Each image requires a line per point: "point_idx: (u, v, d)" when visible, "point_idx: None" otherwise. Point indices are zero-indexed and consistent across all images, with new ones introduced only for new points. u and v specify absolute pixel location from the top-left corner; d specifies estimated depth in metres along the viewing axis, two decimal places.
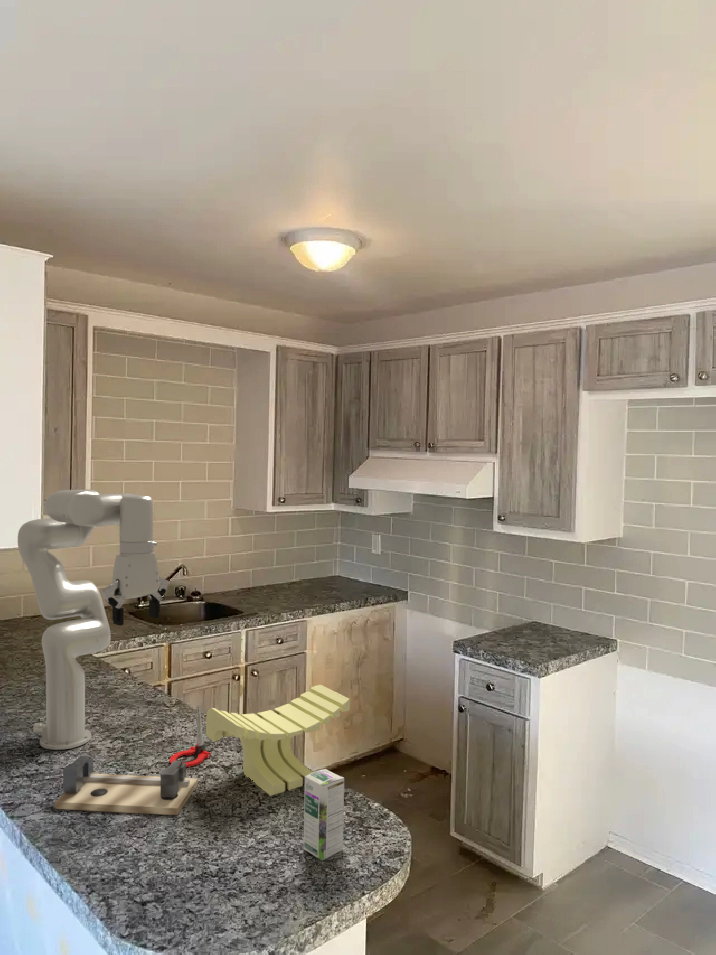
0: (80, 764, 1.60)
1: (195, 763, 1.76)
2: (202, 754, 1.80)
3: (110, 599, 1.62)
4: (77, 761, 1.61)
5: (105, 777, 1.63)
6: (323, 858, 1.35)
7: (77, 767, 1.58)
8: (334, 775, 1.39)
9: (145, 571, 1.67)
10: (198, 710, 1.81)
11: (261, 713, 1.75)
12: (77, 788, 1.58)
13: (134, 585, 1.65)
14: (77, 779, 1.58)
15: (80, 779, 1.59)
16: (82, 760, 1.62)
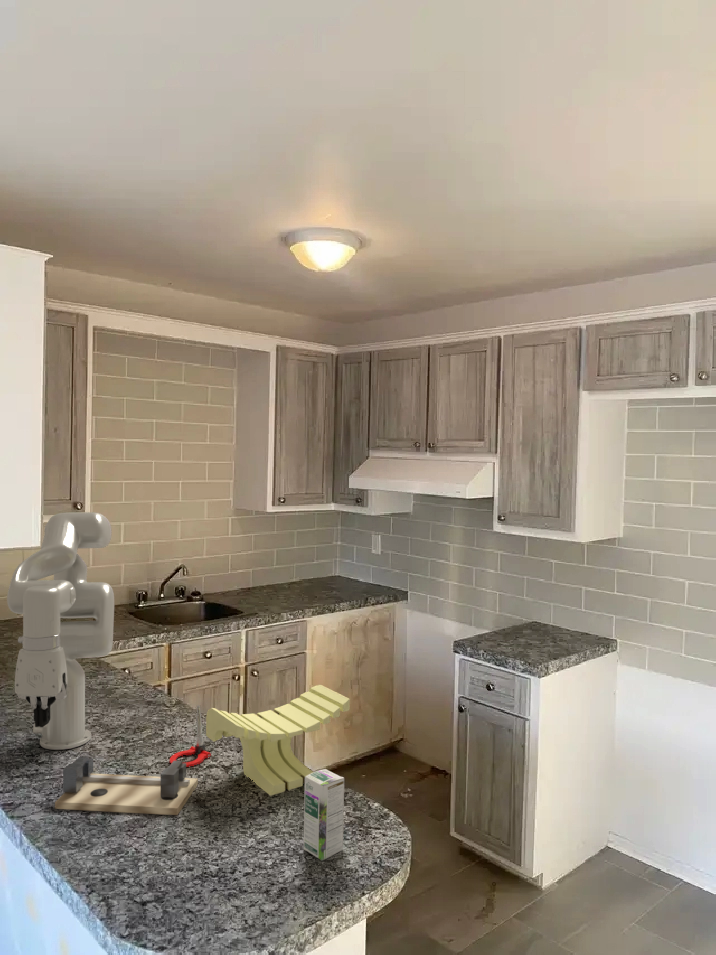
0: (80, 764, 1.60)
1: (195, 763, 1.76)
2: (202, 754, 1.80)
3: None
4: (77, 761, 1.61)
5: (105, 777, 1.63)
6: (323, 858, 1.35)
7: (77, 767, 1.58)
8: (334, 775, 1.39)
9: None
10: (198, 710, 1.81)
11: (261, 713, 1.75)
12: (77, 788, 1.58)
13: None
14: (77, 779, 1.58)
15: (80, 779, 1.59)
16: (82, 760, 1.62)
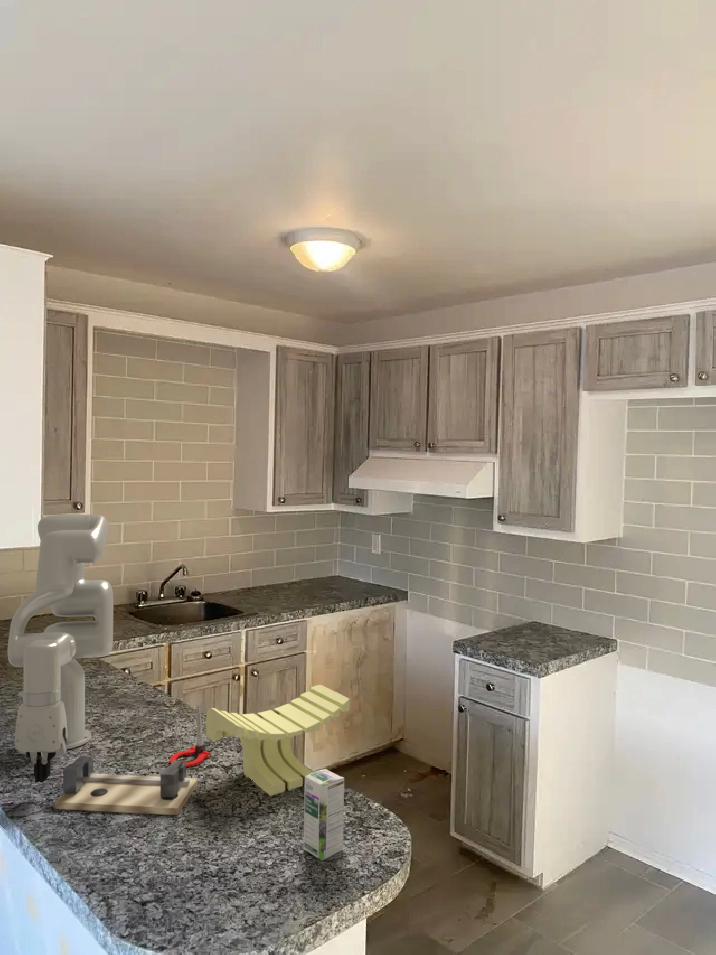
0: (80, 764, 1.60)
1: (195, 763, 1.76)
2: (202, 754, 1.80)
3: None
4: (77, 761, 1.61)
5: (105, 777, 1.63)
6: (323, 858, 1.35)
7: (77, 767, 1.58)
8: (334, 775, 1.39)
9: None
10: (198, 710, 1.81)
11: (261, 713, 1.75)
12: (77, 788, 1.58)
13: None
14: (77, 779, 1.58)
15: (80, 779, 1.59)
16: (82, 760, 1.62)
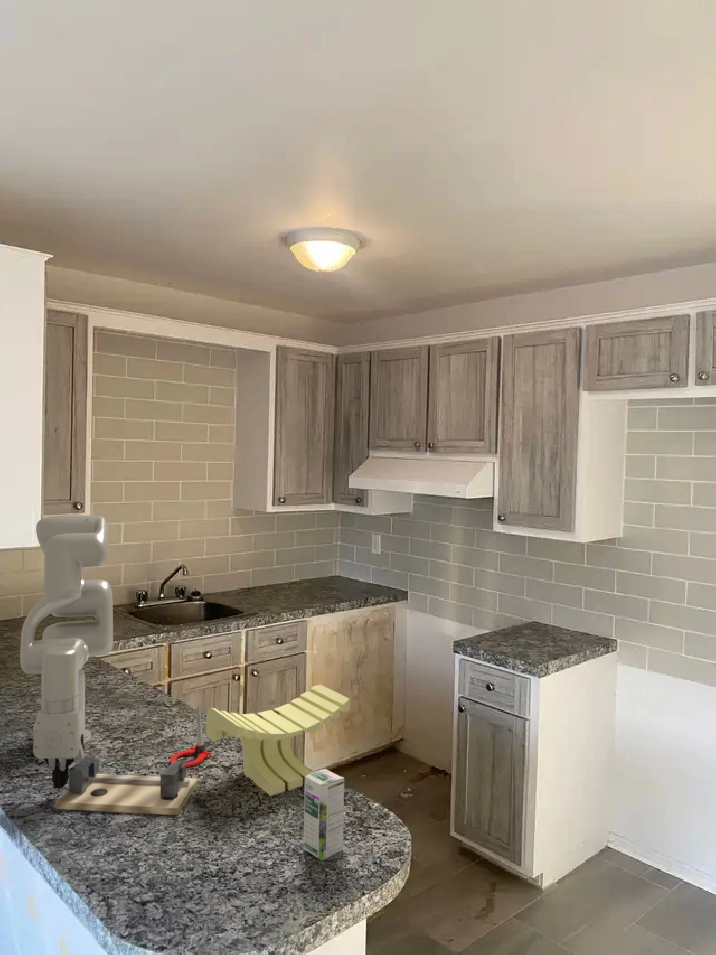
0: (86, 764, 1.60)
1: (195, 763, 1.76)
2: (202, 754, 1.80)
3: None
4: (83, 761, 1.61)
5: (105, 777, 1.63)
6: (323, 858, 1.35)
7: (83, 767, 1.58)
8: (334, 775, 1.39)
9: None
10: (198, 710, 1.81)
11: (261, 713, 1.75)
12: (83, 788, 1.57)
13: None
14: (83, 780, 1.58)
15: (86, 780, 1.59)
16: (88, 760, 1.62)
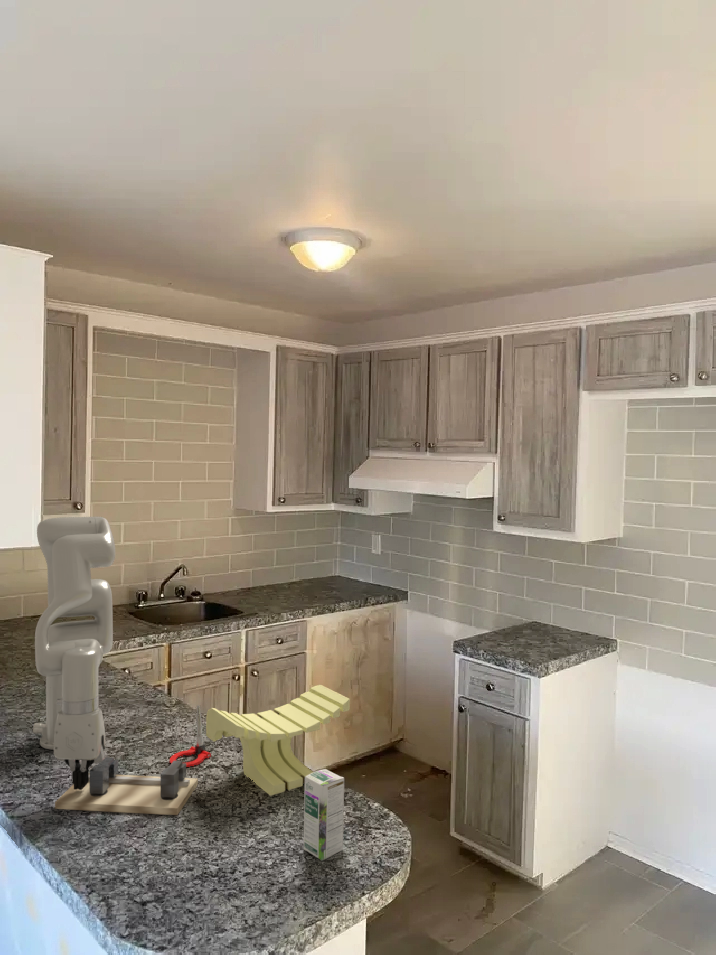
0: (106, 765, 1.59)
1: (195, 763, 1.76)
2: (202, 754, 1.80)
3: None
4: (103, 762, 1.61)
5: None
6: (323, 858, 1.35)
7: (103, 768, 1.58)
8: (334, 775, 1.39)
9: None
10: (198, 710, 1.81)
11: (261, 713, 1.75)
12: (103, 789, 1.57)
13: None
14: (104, 781, 1.57)
15: (107, 781, 1.59)
16: (108, 761, 1.61)
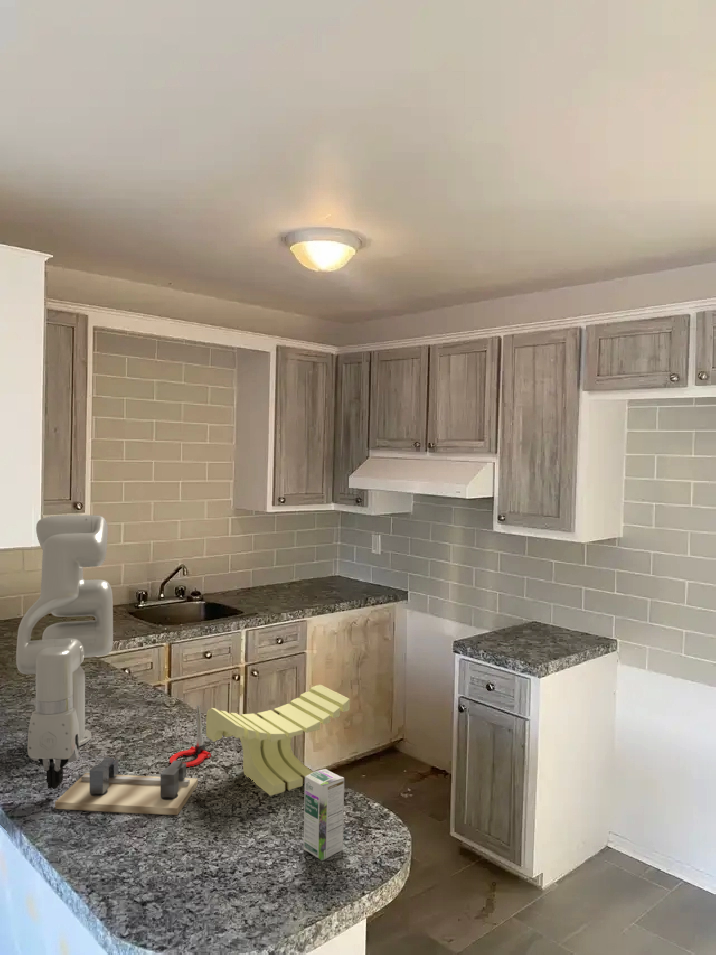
0: (106, 765, 1.59)
1: (195, 763, 1.76)
2: (202, 754, 1.80)
3: None
4: (103, 762, 1.61)
5: None
6: (323, 858, 1.35)
7: (103, 768, 1.58)
8: (334, 775, 1.39)
9: None
10: (198, 710, 1.81)
11: (261, 713, 1.75)
12: (103, 789, 1.57)
13: None
14: (104, 781, 1.57)
15: (107, 781, 1.59)
16: (108, 761, 1.61)
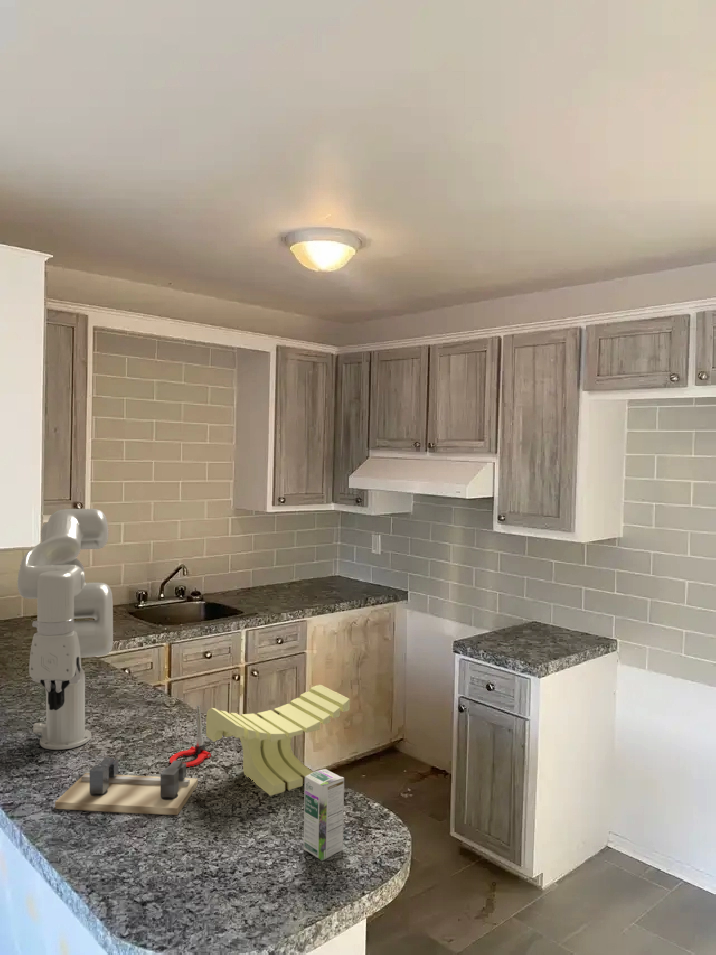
0: (106, 765, 1.59)
1: (195, 763, 1.76)
2: (202, 754, 1.80)
3: None
4: (103, 762, 1.61)
5: None
6: (323, 858, 1.35)
7: (103, 768, 1.58)
8: (334, 775, 1.39)
9: None
10: (198, 710, 1.81)
11: (261, 713, 1.75)
12: (103, 789, 1.57)
13: None
14: (104, 781, 1.57)
15: (107, 781, 1.59)
16: (108, 761, 1.61)
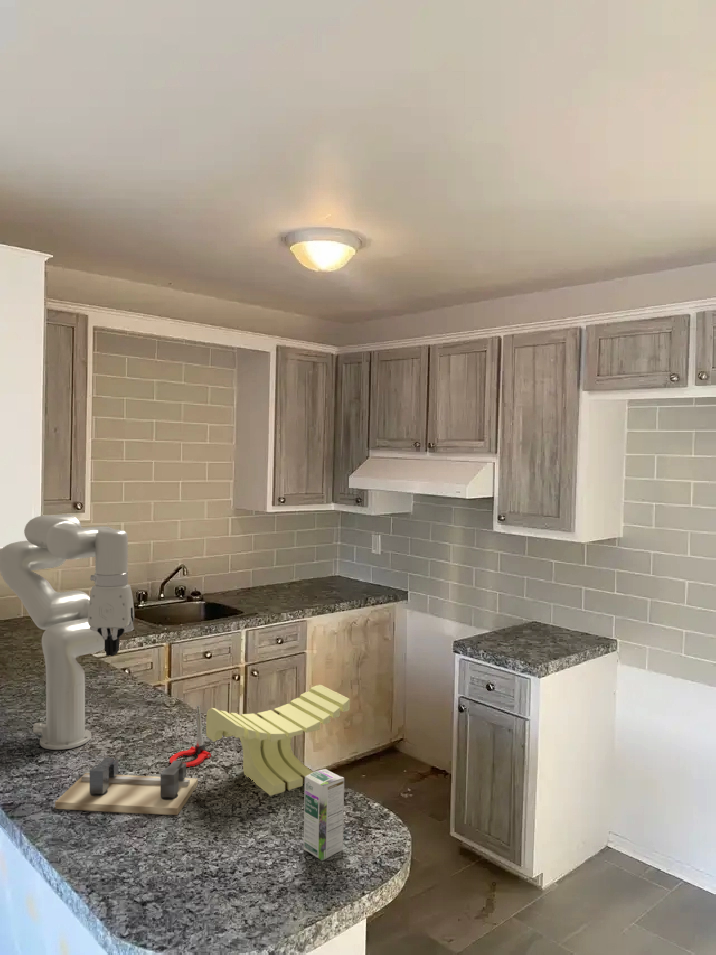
0: (106, 765, 1.59)
1: (195, 763, 1.76)
2: (202, 754, 1.80)
3: None
4: (103, 762, 1.61)
5: None
6: (323, 858, 1.35)
7: (103, 768, 1.58)
8: (334, 775, 1.39)
9: None
10: (198, 710, 1.81)
11: (261, 713, 1.75)
12: (103, 789, 1.57)
13: None
14: (104, 781, 1.57)
15: (107, 781, 1.59)
16: (108, 761, 1.61)
